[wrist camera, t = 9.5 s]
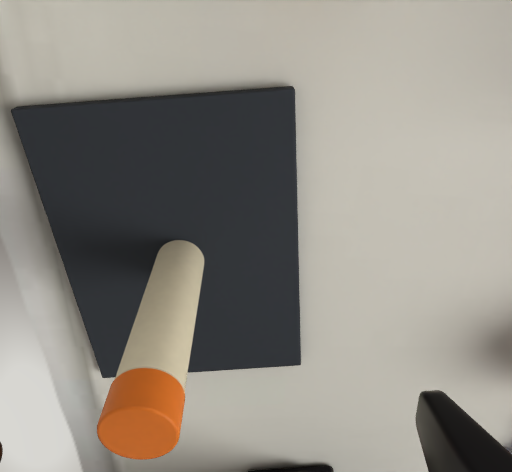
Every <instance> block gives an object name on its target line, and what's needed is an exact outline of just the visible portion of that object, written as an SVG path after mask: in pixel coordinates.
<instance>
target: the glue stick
mask: <svg viewBox="0 0 512 472" xmlns="http://www.w3.org/2000/svg"><path fill="white" fill-rule="evenodd" d="M203 269H204V256H203V254H202V252H201V251H200V249H199V248H198V247H197V246H196V245H194V244H193V243H190V242H188V241H184V240H174V241H170V242H168V243H166V244H165V245H163V246H162V247H161V248H160V250H159V252H158V254H157V257H156V260H155V263H154V266H153V269H152V272H151V275H150V278H149V280H148V283H147V286H146V289H145V292H144V295H143V298H142V301H141V304H140V307H139V310H138V313H137V316H136V319H135V321H134V324H133V327H132V330H131V333H130V336H129V339H128V342H127V345H126V348H125V351H124V354H123V357H122V360H121V363H120V365H119V368H118V371H117V374H116V377H115V380H114V381H113V383H112V384H111V387H110V390H109V393H108V396H107V399H106V402H105V404H104V407H103V410H102V413H101V416H100V419H99V422H98V425H97V434H98V437H99V439H100V441H101V443H102V444H103V445H104V446H105V447H106V448H107V449H109V450H110V451H112V452H113V453H115V454H118V455H120V456H123V457H126V458H131V459H152V458H157V457H160V456H163V455H165V454H167V453H168V452H170V451H171V450H172V449H173V448H174V447H175V445H176V444H177V442H178V440H179V435H180V429H181V422H182V415H183V409H184V402H185V393H184V392H185V386H186V379H187V373H188V366H189V360H190V353H191V347H192V340H193V334H194V327H195V321H196V314H197V308H198V301H199V295H200V288H201V282H202V275H203Z"/></svg>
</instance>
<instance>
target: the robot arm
mask: <svg viewBox="0 0 512 472" xmlns="http://www.w3.org/2000/svg"><path fill="white" fill-rule="evenodd" d="M416 427H417V431H418V435H419V438H420V442H421V445H422V449H423V453H424V456H425V460H426V463H427V467H428V471H429V472H512V454H511V453H510V452H509V451H507V450H506V449H505V448H504V447H503V446H502V445H501V444H500V443H499V442H498V441H496V440H495V439H494V438H493V437H492V436H491V435H490V434H489V433H488V432H487V431H486V430H484V429H483V428H482V427H481V426H480V425H479V424H478V423H477V422H476V421H475V420H473V419H472V418H471V417H470V416H469V415H468V414H467V413H466V412H465V411H464V410H462V409H461V408H460V407H459V406H458V405H457V404H456V403H455V402H454V401H453V400H452V399H450V398H449V397H448V396H447V395H446V394H445V393H444V392H442V391H439V390H435V391H423V392H421V393H420V396H419V401H418V406H417V412H416ZM1 458H2V444H1V442H0V461H1ZM248 472H334V471H333V468H332V467H330V466H320V467H304V468H287V469H271V470H255V471H248Z"/></svg>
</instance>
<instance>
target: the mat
mask: <svg viewBox="0 0 512 472" xmlns="http://www.w3.org/2000/svg"><path fill="white" fill-rule="evenodd" d="M11 112H12V115H13V118H14V121H15V124H16V127H17V130H18V133H19V136H20V139H21V142H22V144H23V147H24V150H25V153H26V156H27V159H28V162H29V165H30V168H31V171H32V174H33V177H34V179H35V182H36V185H37V188H38V191H39V194H40V197H41V200H42V203H43V206H44V209H45V211H46V214H47V217H48V220H49V223H50V226H51V229H52V232H53V235H54V238H55V241H56V243H57V246H58V249H59V252H60V255H61V258H62V261H63V264H64V267H65V270H66V273H67V276H68V278H69V281H70V284H71V287H72V290H73V293H74V296H75V299H76V302H77V305H78V308H79V310H80V313H81V316H82V319H83V322H84V325H85V328H86V331H87V334H88V337H89V340H90V342H91V345H92V348H93V351H94V354H95V357H96V360H97V363H98V366H99V369H100V372H101V374H102V377H103V378H110V377H116V374H117V371H118V368H119V365H120V363H121V360H122V357H123V354H124V351H125V348H126V345H127V342H128V339H129V336H130V333H131V330H132V327H133V324H134V321H135V319H136V316H137V313H138V310H139V307H140V304H141V301H142V298H143V295H144V292H145V289H146V286H147V283H148V280H149V278H150V275H151V272H152V269H153V266H154V263H155V260H156V257H157V254H158V252H159V250H160V248H161V247H162V246H163V245H165V244H166V243H168V242H170V241H174V240H184V241H188V242H190V243H193V244H194V245H196V246H197V247H198V248H199V249H200V251H201V252H202V254H203V256H204V269H203V275H202V282H201V288H200V295H199V301H198V308H197V314H196V321H195V327H194V334H193V340H192V347H191V353H190V360H189V366H188V372H202V371H218V370H233V369H248V368H264V367H279V366H294V365H301V350H300V304H299V259H298V214H297V168H296V123H295V89H294V87H293V86H289V87H276V88H262V89H249V90H235V91H222V92H208V93H195V94H181V95H168V96H155V97H141V98H128V99H114V100H101V101H87V102H74V103H60V104H47V105H33V106H20V107H16V108H14V109H12V110H11Z"/></svg>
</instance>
